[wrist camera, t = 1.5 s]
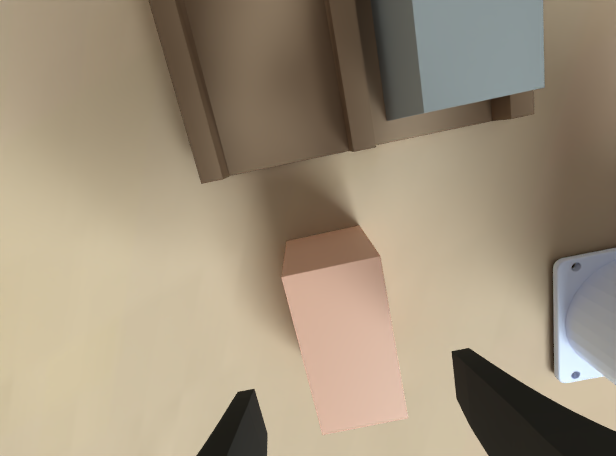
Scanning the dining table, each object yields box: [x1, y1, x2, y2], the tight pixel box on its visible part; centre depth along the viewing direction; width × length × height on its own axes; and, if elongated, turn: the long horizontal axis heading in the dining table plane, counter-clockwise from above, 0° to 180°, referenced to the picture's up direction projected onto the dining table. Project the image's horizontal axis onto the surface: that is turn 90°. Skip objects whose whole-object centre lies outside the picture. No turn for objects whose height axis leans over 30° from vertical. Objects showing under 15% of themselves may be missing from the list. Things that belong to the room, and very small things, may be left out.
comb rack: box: [149, 0, 534, 184], centre depth 14 cm, size 15×10×2 cm, turn 102°
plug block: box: [281, 225, 408, 435], centre depth 17 cm, size 4×8×5 cm, turn 12°
